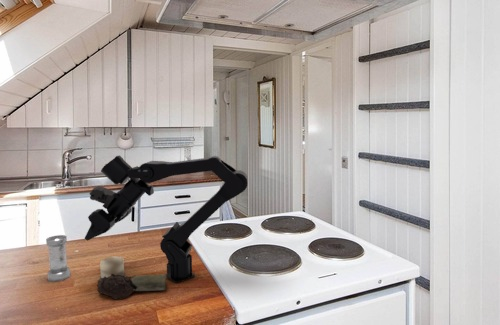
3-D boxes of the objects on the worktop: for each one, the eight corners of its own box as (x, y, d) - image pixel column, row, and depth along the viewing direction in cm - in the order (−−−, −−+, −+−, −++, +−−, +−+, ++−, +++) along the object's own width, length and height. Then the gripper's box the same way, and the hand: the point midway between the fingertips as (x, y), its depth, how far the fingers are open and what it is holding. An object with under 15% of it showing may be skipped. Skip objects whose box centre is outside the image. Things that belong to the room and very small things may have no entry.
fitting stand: (120, 270, 106) (119, 254, 106) (128, 277, 101) (127, 260, 101) (97, 276, 102) (96, 260, 101) (104, 284, 97) (104, 267, 96)
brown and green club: (167, 285, 96) (166, 266, 96) (165, 297, 90) (164, 277, 89) (100, 290, 93) (99, 270, 93) (93, 303, 87) (92, 282, 86)
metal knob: (67, 271, 105) (64, 233, 104) (72, 277, 101) (69, 238, 100) (45, 276, 102) (43, 237, 100) (50, 283, 97) (47, 242, 96)
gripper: (119, 172, 107) (86, 208, 108) (92, 182, 89) (54, 225, 90) (145, 196, 108) (113, 231, 109) (125, 210, 90) (86, 252, 91)
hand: (93, 234), depth 100 cm, fingers open, 9 cm apart
